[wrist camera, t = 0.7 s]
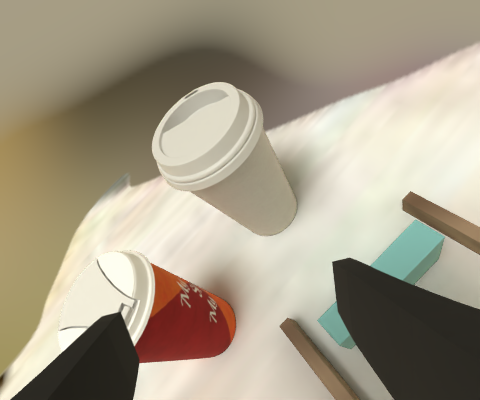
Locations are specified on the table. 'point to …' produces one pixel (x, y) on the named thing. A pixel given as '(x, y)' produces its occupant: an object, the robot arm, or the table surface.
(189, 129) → the coffee cup
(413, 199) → the frame
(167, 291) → the paper cup
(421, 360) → the robot arm
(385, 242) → the table surface
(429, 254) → the long teal post
